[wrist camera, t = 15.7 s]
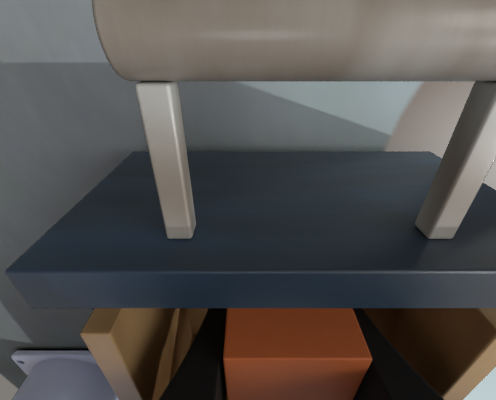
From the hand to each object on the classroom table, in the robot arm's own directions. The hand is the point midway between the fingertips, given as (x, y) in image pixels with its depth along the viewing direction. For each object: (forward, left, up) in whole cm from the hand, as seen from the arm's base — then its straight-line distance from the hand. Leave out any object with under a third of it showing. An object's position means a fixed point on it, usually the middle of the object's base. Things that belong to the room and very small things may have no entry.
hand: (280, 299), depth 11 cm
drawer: (+2, 0, -3) cm, 4 cm away
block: (0, 0, -1) cm, 1 cm away
